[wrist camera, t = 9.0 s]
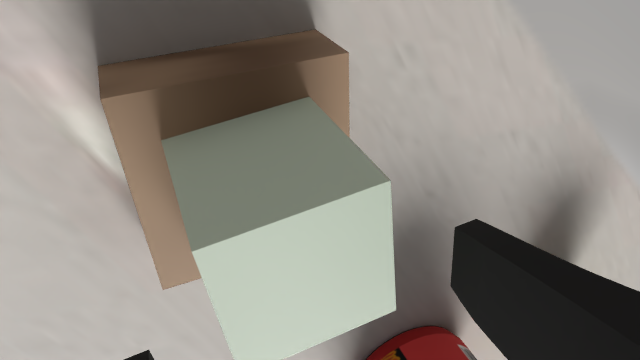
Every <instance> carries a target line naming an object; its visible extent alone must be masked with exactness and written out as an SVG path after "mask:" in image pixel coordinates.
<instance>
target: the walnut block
mask: <svg viewBox="0 0 640 360" xmlns="http://www.w3.org/2000/svg"><path fill="white" fill-rule="evenodd" d="M98 74H99V87H100V99H101V102H102V105H103V109H104V112H105V115H106V118H107V121H108V124H109V127H110V130H111V133H112V136H113V139H114V142H115V145H116V148H117V151H118V154H119V157H120V160H121V163H122V167H123V170H124V173H125V176H126V179H127V182H128V185H129V188H130V191H131V194H132V197H133V200H134V203H135V206H136V209H137V212H138V215H139V218H140V222H141V225H142V228H143V231H144V234H145V237H146V240H147V243H148V246H149V249H150V252H151V255H152V258H153V261H154V264H155V267H156V270H157V273H158V276H159V280H160V283H161V286H162V289H163V290H165V289H168V288H171V287H174V286H177V285H181V284H184V283H187V282H190V281H194V280H197V279H200V278H202V277H201V274H200V272H199V269H198V267H197V264H196V262H195V259H194V257H193V254H192V251H191V248H190V244H189V240H188V237H187V233H186V229H185V226H184V222H183V219H182V215H181V211H180V208H179V204H178V200H177V197H176V193H175V189H174V186H173V182H172V179H171V175H170V171H169V168H168V164H167V160H166V157H165V153H164V149H163V146H162V142H161V140H164V139H168V138H171V137H174V136H178V135H181V134H184V133H188V132H191V131H194V130H198V129H201V128H205V127H208V126H211V125H215V124H218V123H221V122H225V121H228V120H232V119H235V118H238V117H242V116H245V115H248V114H252V113H255V112H259V111H262V110H265V109H269V108H272V107H275V106H279V105H282V104H286V103H289V102H292V101H296V100H299V99H302V98H306V97H310V98H311V99H312V100H313V101H314V102H315V103H316V104H317V105H318V106H319V107H320V108H321V109H322V110H323V111H324V112H325V113H326V114H327V115H328V116H329V117H330V118H331V120H332V121H333V122H334V123H335V124H336V125H337V126H338V127H339V128H340V129H341V130H342V131H343V132H344V133H345V134H346V135H347V136H348V137H349V52H347V51H346V50H344V49H343V48H341V47H340V46H339V45H337V44H336V43H334V42H333V41H331V40H330V39H329V38H327V37H326V36H324V35H323V34H321V33H320V32H319V31H317V30H316V29H315V30H309V31H303V32H297V33H291V34H285V35H279V36H274V37H268V38H262V39H256V40H250V41H244V42H238V43H232V44H226V45H220V46H214V47H208V48H202V49H196V50H190V51H184V52H178V53H172V54H166V55H160V56H154V57H148V58H142V59H136V60H130V61H124V62H118V63H113V64H107V65H101V66H98Z"/></svg>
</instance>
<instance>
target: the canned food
mask: <svg viewBox="0 0 640 360" xmlns="http://www.w3.org/2000/svg"><path fill="white" fill-rule="evenodd" d="M366 360H477V359H476V358H475V356H474V355H473V354H472V353H471V351H470V350H469V349H468V348H467V346H466V345H465V344H464V343H463V342H462V341H461V339H460V338H458V337H457V336H456V335H454V334H453V333H451V332H450V331H448V330H446V329H444V328H442V327H437V326H426V327H420V328H415V329H412V330H409V331H406V332H404V333H402V334H399V335H397V336H395V337H393V338H392V339H390V340H389V341H387V342H385V343H384V344H383V345H381V346H380V347H379V348H378V349H376V350H375V351H374V352H373V353H372V354H371V355H370V356H369V357H368V358H367V359H366Z"/></svg>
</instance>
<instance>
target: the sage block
mask: <svg viewBox="0 0 640 360" xmlns="http://www.w3.org/2000/svg"><path fill="white" fill-rule="evenodd" d="M161 142H162V146H163V149H164V153H165V157H166V160H167V164H168V168H169V171H170V175H171V179H172V182H173V186H174V189H175V193H176V197H177V200H178V204H179V208H180V211H181V215H182V219H183V222H184V226H185V229H186V233H187V237H188V240H189V244H190V248H191V251H192V254H193V257H194V259H195V262H196V264H197V267H198V269H199V272H200V274H201V277H202V280H203V282H204V285H205V287H206V290H207V292H208V295H209V298H210V300H211V303H212V305H213V308H214V310H215V313H216V315H217V318H218V321H219V323H220V326H221V328H222V331H223V333H224V336H225V339H226V341H227V344H228V346H229V349H230V351H231V354H232V356H233V359H234V360H283V359H285V358H288V357H290V356H292V355H295V354H297V353H299V352H302V351H304V350H306V349H308V348H311V347H313V346H315V345H318V344H320V343H322V342H325V341H327V340H329V339H331V338H334V337H336V336H338V335H341V334H343V333H345V332H347V331H350V330H352V329H354V328H357V327H359V326H361V325H364V324H366V323H368V322H370V321H373V320H375V319H377V318H380V317H382V316H384V315H387V314H389V313H391V312H393V311H396V295H395V271H394V247H393V223H392V199H391V180H390V179H389V178H388V177H387V176H386V175H385V174H384V173H383V172H382V171H381V170H380V169H379V168H378V167H377V166H376V165H375V164H374V163H373V162H372V161H371V160H370V159H369V158H368V157H367V156H366V155H365V154H364V152H363V151H362V150H361V149H360V148H359V147H358V146H357V145H356V144H355V143H354V142H353V141H352V140H351V139H350V138H349V137H348V136H347V135H346V134H345V133H344V132H343V131H342V130H341V129H340V128H339V127H338V126H337V125H336V124H335V123H334V122H333V121H332V120H331V118H330V117H329V116H328V115H327V114H326V113H325V112H324V111H323V110H322V109H321V108H320V107H319V106H318V105H317V104H316V103H315V102H314V101H313V100H312V99H311V98H310V97H306V98H302V99H299V100H296V101H292V102H289V103H286V104H282V105H279V106H275V107H272V108H269V109H265V110H262V111H259V112H255V113H252V114H248V115H245V116H242V117H238V118H235V119H232V120H228V121H225V122H221V123H218V124H215V125H211V126H208V127H205V128H201V129H198V130H194V131H191V132H188V133H184V134H181V135H178V136H174V137H171V138H168V139H164V140H161Z"/></svg>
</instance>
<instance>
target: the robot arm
mask: <svg viewBox="0 0 640 360" xmlns="http://www.w3.org/2000/svg"><path fill="white" fill-rule="evenodd" d="M451 287H452V289H453V290H454V292H455V293H456V295H457V296H458V298H459V299H460V301H461V303H462V304H463V306H464V307H465V308H466V310H467V311H468V313H469V314H470V315H471V317H472V318H473V320H474V321H475V322H476V324H477V325H478V326H479V327H480V328H481V329H482V331H483V332H484V333H485V334H486V335H487V336H488V338H489V339H490V340H491V341H492V342H493V343H494V344H495V346H496V347H497V348H498V349H499V350H500V351H501V352H502V354H503V355H504V356H505V357H506V358H507V359H508V360H640V292H639V291H637V290H634V289H631V288H629V287H626V286H624V285H621V284H619V283H616V282H614V281H611V280H609V279H606V278H604V277H602V276H599V275H597V274H594V273H592V272H590V271H587V270H585V269H583V268H580V267H578V266H576V265H574V264H571V263H569V262H567V261H565V260H563V259H560V258H558V257H556V256H554V255H552V254H550V253H547V252H545V251H543V250H541V249H539V248H537V247H535V246H533V245H531V244H528V243H526V242H524V241H522V240H520V239H518V238H516V237H514V236H512V235H510V234H508V233H506V232H503V231H501V230H499V229H497V228H495V227H493V226H491V225H489V224H487V223H484V222H482V221H480V220H478V219H475V220H472V221H470V222H467V223H465V224H462V225H460V226H457V227H455V232H454V246H453V260H452V274H451ZM124 360H154V358H153V356H152V355H151V353H150V351H149V350H147V351H144V352H142V353H139V354H137V355H134V356H132V357H129V358H127V359H124Z"/></svg>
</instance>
